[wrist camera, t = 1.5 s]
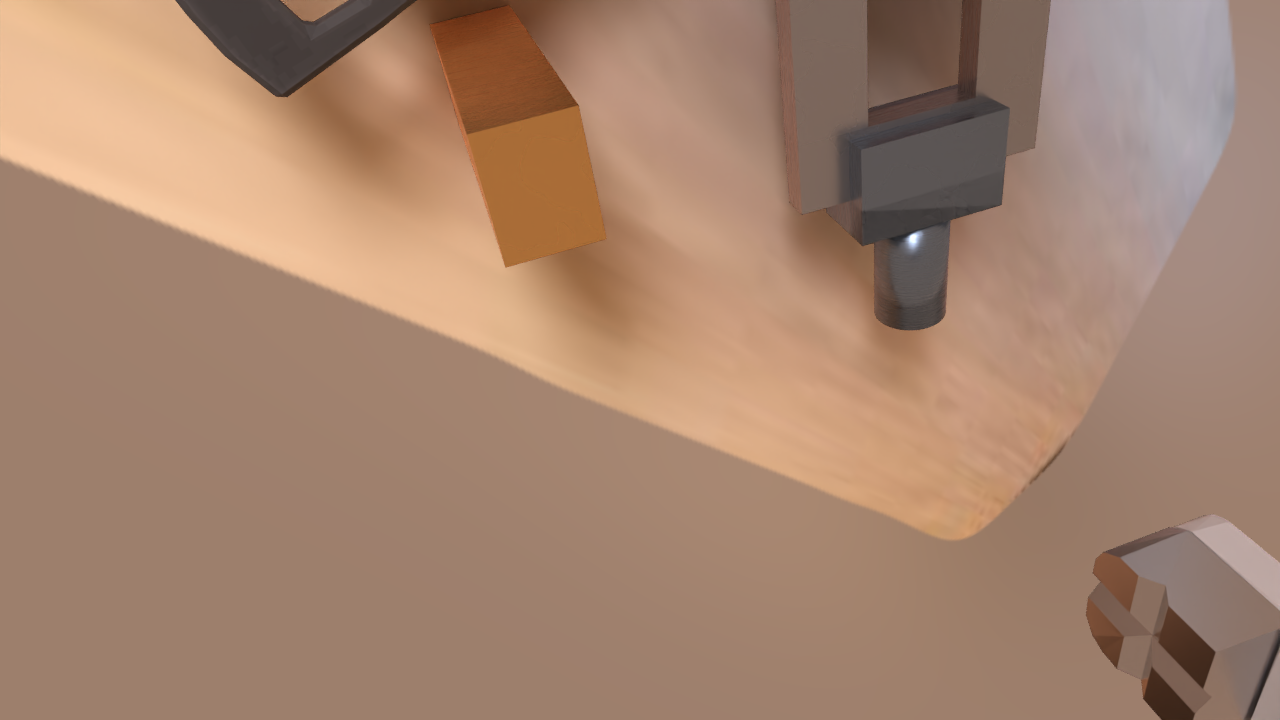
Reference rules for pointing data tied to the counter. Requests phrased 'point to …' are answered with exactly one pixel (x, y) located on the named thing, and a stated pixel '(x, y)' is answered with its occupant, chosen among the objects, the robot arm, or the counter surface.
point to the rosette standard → (906, 138)
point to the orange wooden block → (520, 136)
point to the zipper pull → (287, 36)
